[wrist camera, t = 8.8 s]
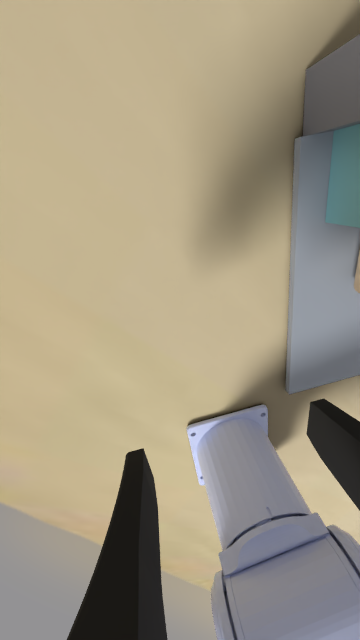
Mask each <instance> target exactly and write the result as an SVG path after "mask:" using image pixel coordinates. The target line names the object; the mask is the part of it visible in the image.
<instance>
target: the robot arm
mask: <svg viewBox="0 0 360 640" xmlns="http://www.w3.org/2000/svg"><path fill="white" fill-rule="evenodd" d="M187 433H188V437H189V442H190V446H191V450H192V455H193V459H194V463H195V468H196V472H197V476H198V481H199V484H200V485H205V487H206V491H207V495H208V498H209V502H210V506H211V509H212V513H213V517H214V520H215V524H216V528H217V531H218V535H219V539H220V543H221V546H222V550H223V551H222V552H220V553H219V558H220V562H221V566H222V570H221V571H219V572H217V573H216V574H215V576H214V582H213V585H212V589H211V604H212V612H213V618H214V625H215V630H216V635H217V640H360V545H359V544H358V543H357V542H356V540H355V539H354V538H353V537H352V536H351V535H350V534H348V533H347V532H345V531H343V530H341V529H340V528H338V527H337V526H335V525H330V526H327V527H326V526H325V525H324V523H323V521H322V520H321V518H320V516H319V515H318V513H313V514H312V513H311V511H310V510H309V508H308V506H307V504H306V503H305V501H304V499H303V497H302V496H301V494H300V492H299V490H298V489H297V487H296V485H295V484H294V482H293V480H292V478H291V477H290V475H289V473H288V471H287V470H286V468H285V466H284V464H283V463H282V461H281V459H280V457H279V456H278V454H277V452H276V451H275V449H274V447H273V445H272V444H271V442H270V440H269V438H268V409H267V407H266V406H265V405H259V406H255V407H252V408H248V409H244V410H241V411H237V412H234V413H230V414H226V415H223V416H219V417H216V418H212V419H209V420H205V421H201V422H198V423H194V424H191V425H189V426H188V427H187ZM307 436H308V437H309V439H310V441H311V443H312V444H313V446H314V448H315V449H316V451H317V453H318V454H319V456H320V458H321V459H322V460H323V462H324V463H325V465H326V466H327V467H328V469H329V470H330V471H331V473H332V474H333V476H334V477H335V478H336V480H337V481H338V482H339V484H340V485H341V486H342V488H343V489H344V490H345V492H346V493H347V494H348V496H349V497H350V498H351V500H352V501H353V502H354V504H355V505H356V506H357V508H358V509H359V510H360V422H359V421H358V420H356V419H355V418H353V417H352V416H350V415H348V414H347V413H345V412H344V411H342V410H341V409H339V408H338V407H336V406H335V405H333V404H331V403H330V402H328V401H327V400H325V399H320V400H317V401H313V402H310V411H309V419H308V427H307ZM67 640H167V633H166V624H165V615H164V606H163V598H162V585H161V566H160V544H159V523H158V506H157V498H156V491H155V483H154V477H153V474H152V472H151V469H150V466H149V463H148V460H147V457H146V455H145V452H144V449H139V450H135V451H132V452H128V453H127V455H126V459H125V465H124V470H123V475H122V480H121V484H120V488H119V492H118V496H117V500H116V504H115V507H114V511H113V514H112V518H111V522H110V525H109V528H108V531H107V534H106V537H105V540H104V544H103V547H102V550H101V553H100V556H99V559H98V562H97V565H96V567H95V570H94V573H93V576H92V578H91V581H90V584H89V586H88V589H87V592H86V594H85V597H84V599H83V602H82V604H81V607H80V609H79V612H78V614H77V616H76V619H75V621H74V624H73V626H72V629H71V631H70V633H69V636H68V638H67Z"/></svg>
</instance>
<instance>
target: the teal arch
mask: <svg viewBox="0 0 360 640" xmlns="http://www.w3.org/2000/svg"><path fill="white" fill-rule="evenodd" d="M325 222H327V223H333V224H339V225H345V226H351V227H357V228H360V124H357V125H353V126H349V127H346V128H342V129H339V130H335V131H334V134H333V144H332V155H331V165H330V176H329V187H328V197H327V208H326V218H325Z"/></svg>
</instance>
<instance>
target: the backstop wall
mask: <svg viewBox="0 0 360 640" xmlns="http://www.w3.org/2000/svg"><path fill="white" fill-rule="evenodd" d="M357 124H360V34H359V35H358V36H356V37H355V38H353V39H352V40H350V41H349V42H347V43H346V44H344V45H343V46H341V47H339V48H338V49H336V50H335V51H333V52H332V53H330V54H329V55H327V56H326V57H324V58H323V59H321V60H320V61H318V62H317V63H315V64H314V65H312V66H311V67H309V68H308V69H306V78H305V99H304V119H303V136H308V135H314V134H319V133H325V132H330V131H335V130H339V129H342V128H346V127H349V126H353V125H357Z"/></svg>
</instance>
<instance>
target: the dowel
mask: <svg viewBox="0 0 360 640" xmlns="http://www.w3.org/2000/svg"><path fill="white" fill-rule="evenodd" d="M354 289H355V290H356V291H357V292H358V293H360V250H359V256H358V262H357V268H356V274H355V280H354Z"/></svg>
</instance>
